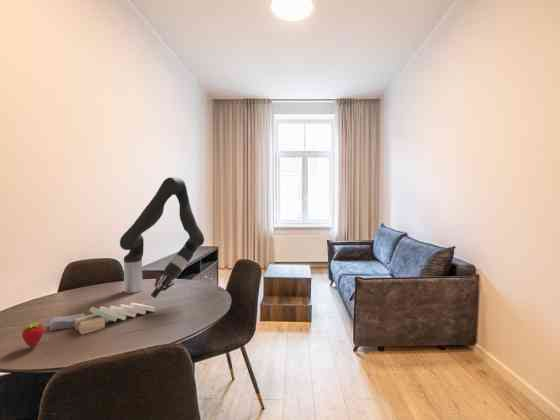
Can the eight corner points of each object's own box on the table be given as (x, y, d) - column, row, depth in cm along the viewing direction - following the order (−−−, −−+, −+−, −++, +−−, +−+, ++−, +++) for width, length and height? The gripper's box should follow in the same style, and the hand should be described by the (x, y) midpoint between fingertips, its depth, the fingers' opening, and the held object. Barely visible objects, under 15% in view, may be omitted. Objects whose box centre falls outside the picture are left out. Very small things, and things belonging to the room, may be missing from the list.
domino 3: (134, 317, 131) (113, 311, 125) (129, 314, 135) (108, 308, 128) (136, 313, 132) (115, 307, 125) (131, 311, 135) (110, 305, 128)
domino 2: (124, 320, 128) (103, 312, 122) (119, 317, 131) (98, 309, 125) (126, 316, 129) (105, 308, 122) (121, 314, 132) (101, 305, 126)
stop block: (75, 328, 120) (75, 318, 120) (97, 322, 126) (97, 313, 126) (82, 334, 115) (81, 324, 115) (104, 327, 121) (104, 317, 121)
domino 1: (115, 321, 125) (93, 313, 119) (110, 318, 129) (89, 310, 122) (117, 318, 126) (96, 309, 120) (113, 315, 129) (91, 306, 123)
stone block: (52, 328, 125) (47, 332, 117) (53, 316, 126) (48, 319, 118) (86, 323, 131) (84, 327, 122) (86, 312, 132) (84, 315, 123)
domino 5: (154, 311, 138) (134, 308, 131) (149, 309, 141) (129, 305, 134) (155, 308, 139) (135, 304, 132) (150, 305, 142) (130, 302, 135)
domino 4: (144, 314, 135) (123, 310, 128) (139, 311, 138) (119, 307, 131) (146, 310, 135) (125, 306, 128) (141, 308, 139) (120, 303, 132)
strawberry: (44, 341, 109) (44, 314, 109) (43, 349, 103) (43, 320, 103) (23, 345, 106) (22, 317, 106) (21, 354, 100) (20, 324, 99)
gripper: (164, 260, 151) (140, 289, 142) (178, 263, 143) (154, 295, 134) (174, 268, 156) (151, 298, 146) (188, 272, 147) (165, 303, 138)
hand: (152, 296), depth 140 cm, fingers closed
